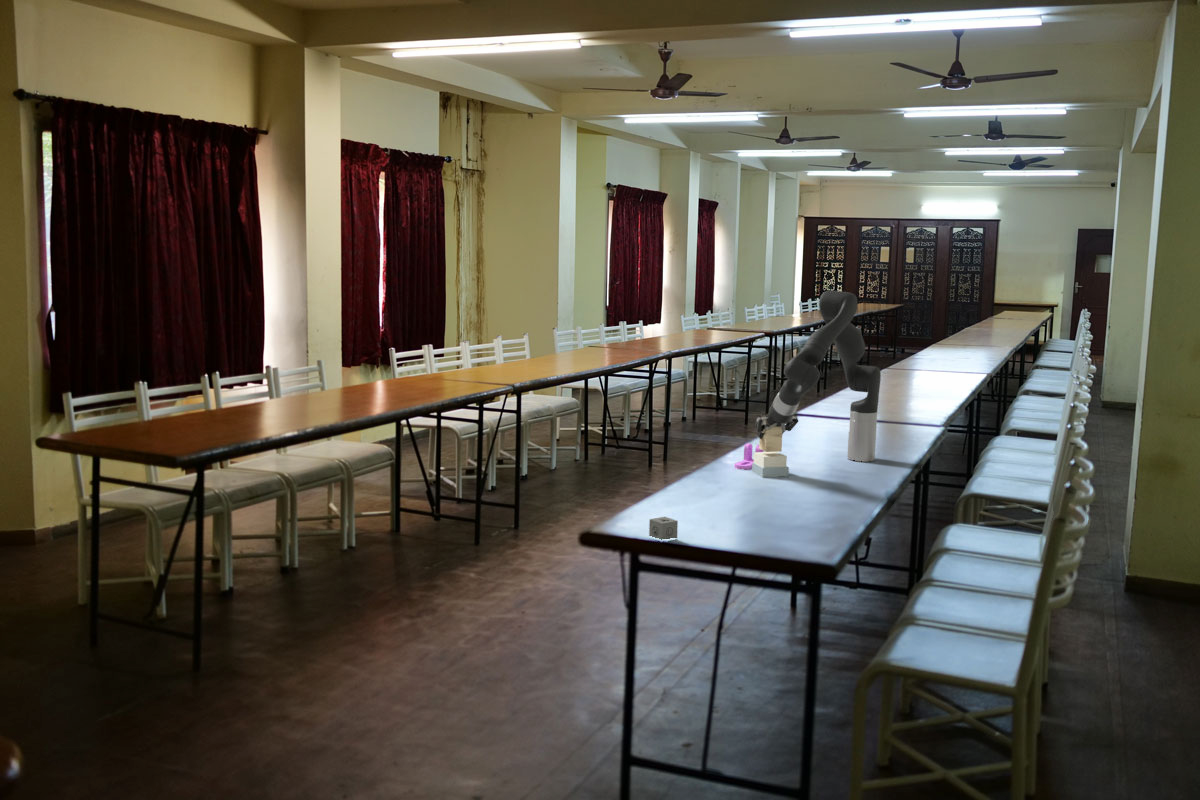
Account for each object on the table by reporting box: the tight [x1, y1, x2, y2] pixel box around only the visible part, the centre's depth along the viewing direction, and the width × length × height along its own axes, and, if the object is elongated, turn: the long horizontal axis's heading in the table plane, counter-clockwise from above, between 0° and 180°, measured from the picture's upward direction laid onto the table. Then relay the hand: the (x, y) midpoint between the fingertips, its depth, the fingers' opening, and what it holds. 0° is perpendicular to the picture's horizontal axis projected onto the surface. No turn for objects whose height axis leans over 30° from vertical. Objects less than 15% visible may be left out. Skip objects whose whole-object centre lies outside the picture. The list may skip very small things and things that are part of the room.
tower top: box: [753, 451, 788, 468], centre depth 343 cm, size 8×8×4 cm
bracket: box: [734, 443, 765, 470], centre depth 355 cm, size 13×6×7 cm, turn 147°
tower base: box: [751, 463, 790, 478], centre depth 343 cm, size 9×9×4 cm
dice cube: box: [648, 516, 679, 540], centre depth 264 cm, size 5×5×5 cm
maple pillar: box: [758, 421, 783, 453], centre depth 342 cm, size 6×6×10 cm
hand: (768, 436), depth 344 cm, fingers closed on maple pillar, 5 cm apart
